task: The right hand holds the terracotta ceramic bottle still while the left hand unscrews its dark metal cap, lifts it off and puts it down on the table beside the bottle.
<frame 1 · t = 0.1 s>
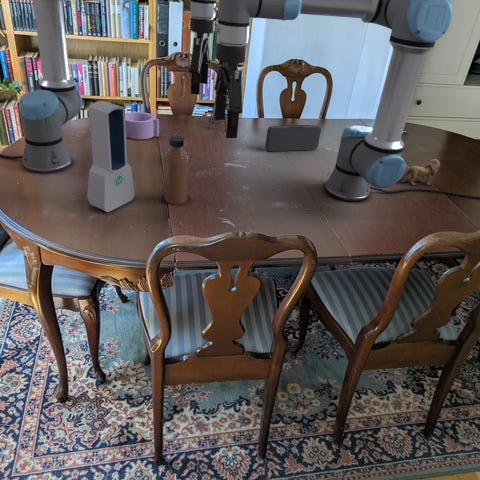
left hand: (199, 88, 153), 28 cm above the table, tool pointing down, fingers open, 13 cm apart
right hand: (225, 128, 124), 28 cm above the table, tool pointing down, fingers open, 13 cm apart
electronic device: (111, 203, 141), on the table
bottle: (175, 199, 147), on the table
handheld gaming console: (291, 150, 191), on the table
sword: (386, 138, 214), on the table
lion figurine: (417, 182, 175), on the table
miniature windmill: (218, 126, 207), on the table
clip: (132, 134, 190), on the table
cap: (176, 139, 137), point 20 cm above the table, screwed on, not yet turned
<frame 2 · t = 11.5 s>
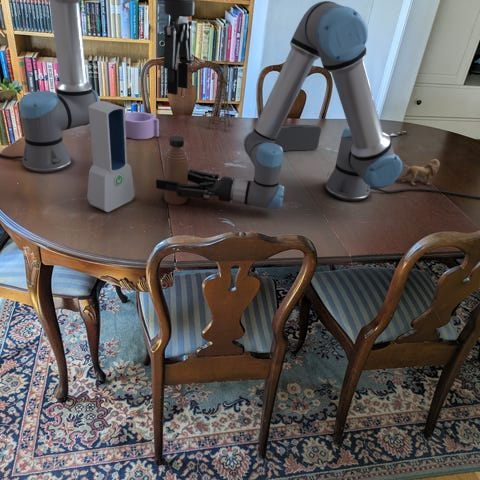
left hand: (177, 90, 129), 34 cm above the table, tool pointing down, fingers open, 6 cm apart
right hand: (160, 178, 144), 6 cm above the table, tool horizontal, fingers closed on bottle, 7 cm apart
bottle: (175, 199, 147), on the table, touching right hand
everything else where it was.
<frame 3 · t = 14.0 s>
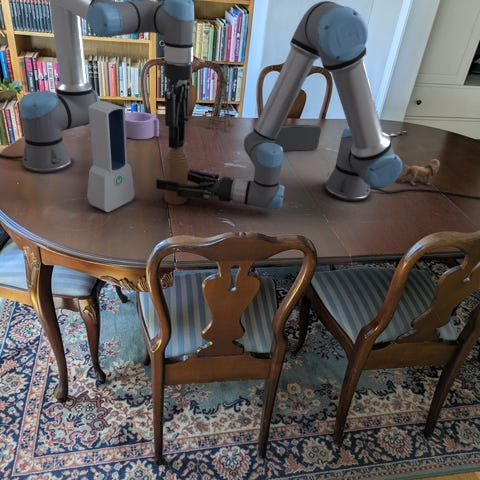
left hand: (176, 144, 137), 18 cm above the table, tool pointing down, fingers closed on cap, 4 cm apart
right hand: (160, 178, 144), 6 cm above the table, tool horizontal, fingers closed on bottle, 7 cm apart
bottle: (175, 199, 147), on the table, touching right hand
cap: (176, 139, 137), point 20 cm above the table, screwed on, not yet turned, touching left hand
everything else where it was.
when the left hand's fingers open (1 cm above the table, at t = 33.2 s): cap drops 1 cm, point 2 cm above the table.
when the right hand's fingers open (6 cm above the table, at t = 34.4 s): bottle stays where it is, on the table.
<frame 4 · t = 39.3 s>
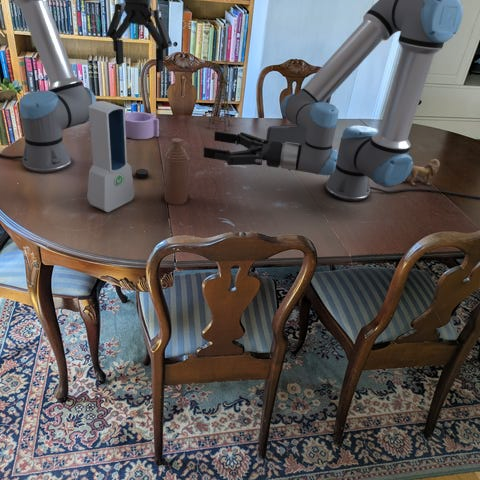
left hand: (139, 67, 139), 36 cm above the table, tool pointing down, fingers open, 13 cm apart
right hand: (209, 143, 135), 20 cm above the table, tool horizontal, fingers open, 13 cm apart
bottle: (175, 199, 147), on the table
cap: (142, 172, 157), point 2 cm above the table, off its thread
everything else where it was.
at the end: cap came off its thread; cap point 1.6 cm above the table; the left hand is holding nothing; the right hand is holding nothing; bottle tilted 0°; bottle moved 0.0 cm from its start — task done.
